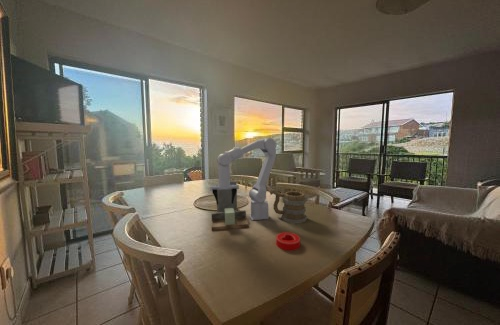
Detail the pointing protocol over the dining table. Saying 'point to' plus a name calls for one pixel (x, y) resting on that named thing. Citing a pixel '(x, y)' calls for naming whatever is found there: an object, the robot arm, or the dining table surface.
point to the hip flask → (226, 199)
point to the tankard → (291, 206)
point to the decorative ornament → (288, 241)
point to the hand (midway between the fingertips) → (224, 203)
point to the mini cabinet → (229, 216)
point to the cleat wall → (219, 223)
